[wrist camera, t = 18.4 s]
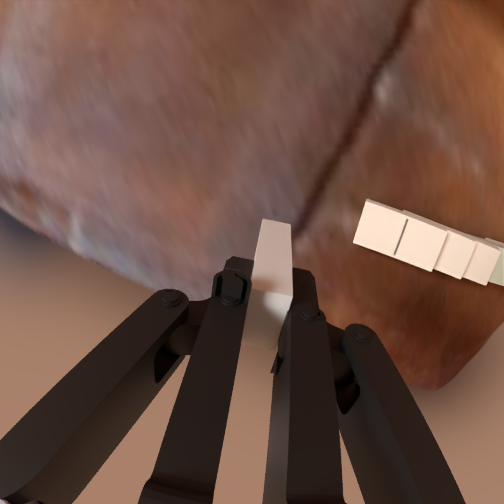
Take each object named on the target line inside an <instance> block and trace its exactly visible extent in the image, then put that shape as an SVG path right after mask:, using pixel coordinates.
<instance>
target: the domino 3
mask: <svg viewBox="0 0 504 504" xmlns="http://www.w3.org/2000/svg"><path fill="white" fill-rule="evenodd" d="M441 225H442V224H441ZM446 227H447V226H446ZM448 228H450V227H448ZM451 229H452V228H451ZM453 230H455V229H453ZM455 231H457V230H455ZM458 232H460V231H458ZM460 233H462V232H460ZM462 234H465V233H462ZM465 235H467V234H465ZM467 236H469V237H471V238H474V240H475V241H476V242H477V244H476V246H475V249H474V251H473V253H472V256H471V258H470V260H469V262H468V265H467V267H466V269H465V271H464V273H463V276H462V277H464V278H467V279H469V280H472V281H474V282H477V283H480V284H482V285H485V286H486V285H487V283H488V281H489V278H490V276H491V274H492V272H493V270H494V267H495V265H496V263H497V260H498V258H499V255H500V253H501V251H500V250H499V248H498V247H496V246H494V245H491V244H489V243H487V242H484V241H482V240H480V239H477V238H475V237H472V236H470V235H467Z"/></svg>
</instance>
